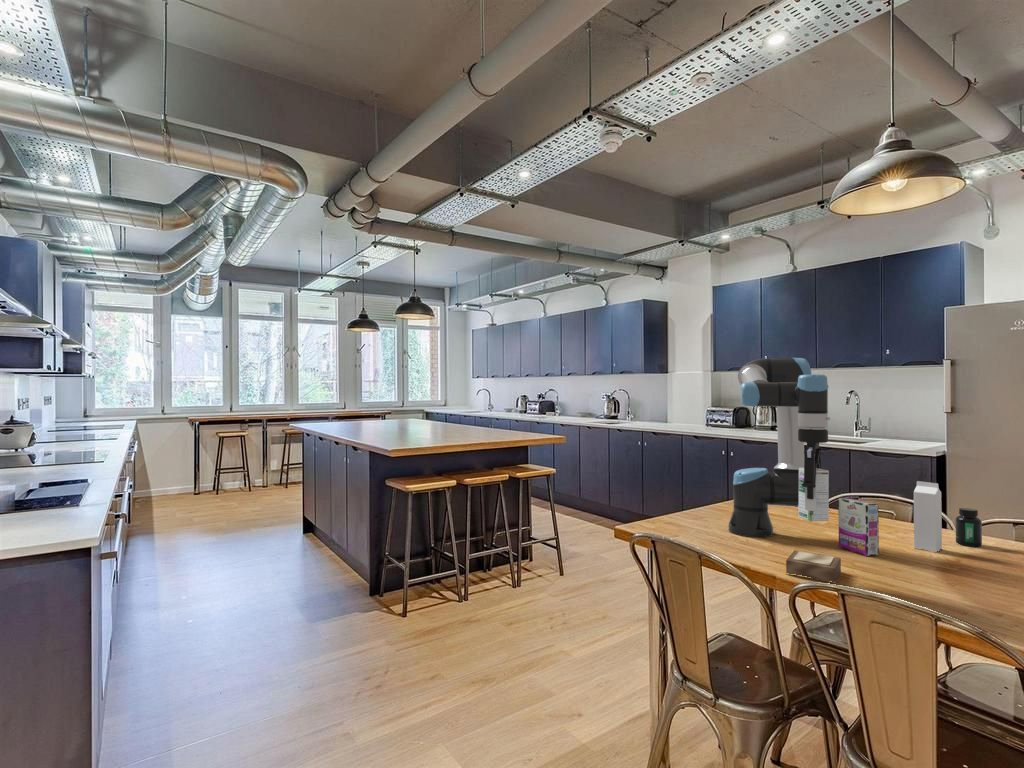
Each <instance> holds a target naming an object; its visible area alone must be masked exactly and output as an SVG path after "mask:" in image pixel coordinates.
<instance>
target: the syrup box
mask: <svg viewBox="0 0 1024 768" xmlns="http://www.w3.org/2000/svg"><path fill="white" fill-rule="evenodd" d="M829 474H830V472H829V470H828V469H823V468H822V469H818V468H816V484H815V485H816V505H817V511H809V510H805V487H802V484H803V483H804V467H802V468H799V507H798V518H802V519H803V520H807V521H809V522H829V517H830V515H829V513H830V512H829V511H830V510H829V509H830V508H829V506H830V505H829V503H830V502H829V501H830V500H829V499H830V497H829V496H830V495H829V492H830V491H829V487H830V485H829V484H830V483H829V481H830V479H829ZM809 482H810V481H809Z"/></svg>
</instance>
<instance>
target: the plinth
mask: <svg viewBox="0 0 1024 768" xmlns="http://www.w3.org/2000/svg"><path fill="white" fill-rule="evenodd" d="M841 559H842V558H841V557H838V556H831V555H827V554H826V555H825V554H820V553H813V552H808V551H807V552H806V551H801V550H793V552H791V554H790V555H789V556H788V558H787V559H786V560H785V562H786V564H785V571H786V572H785V573H789V574H796V575H802V576H807V577H811V578H813V579H812V580H814V579H818V580H817V581H819V580H821V581H820V582H825V581H832V582H835V581H836V580H837V581H838V579H839V577H840V574H841V572H842V571H841V570H842V567H841V565H842V564H841V563H842V560H841ZM838 576H839V577H838ZM837 578H838V579H837ZM837 581H836V582H837Z"/></svg>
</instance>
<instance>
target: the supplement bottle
mask: <svg viewBox="0 0 1024 768" xmlns="http://www.w3.org/2000/svg"><path fill="white" fill-rule="evenodd" d="M978 512H979V511H978V510H977V509H974V508H970V507H969V508H968V507H959V509H958V514H959V515H957V516H956V518H955V542H956V544H957V543H958V544H957V545H959V544H960V546H963V547H969V548H981V547H982V546H983V522H982V520H981V518H979V517H978V516H979V513H978Z"/></svg>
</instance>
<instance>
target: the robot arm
mask: <svg viewBox="0 0 1024 768" xmlns="http://www.w3.org/2000/svg"><path fill="white" fill-rule="evenodd" d="M737 379H738V382H739V384H740V402H741V405H742V406H745V407H753V408H755V407H776V412H777V413H776V414H777V415H776V416H777V418H776V419H777V420H776V422H777V425H776V426H777V458H778V459H777V461H778V462H777V463H776V465H775V466H774V467H773V472H769V471H768V468H765V467H750V468H749V467H748V468H741V469H738V470H736V471H735V472H734V473H733V480H732V481H733V482H732V485H733V510H732V513H731V516H730V519H729V522H728V531H729V532H731V533H732V534H735V535H739V536H745V537H751V538H753V537H754V538H768V537H772V536H773V535H774V526H773V523H772V521H771V518H770V515H769V511H768V510H769V506H782V507H783V506H784V507H795V508H797V507H798V508H799V468H802V467H804V483H803V484H802V487H805V510H809V511H817V505H816V485H815V484H816V468H818V469H823V468H822V453H823V449H822V446H820V444H823V443H824V444H826V443H828V442H829V430H828V429H826V428H828V425H829V422H828V421H831V417H829V416H828V413H829V412H828V410H829V409H828V407H829V406H828V404H829V403H828V399H829V395H828V394H829V393H828V391H829V384H828V377H827V375H825V374H813V373H812V369H811V367H810V363H809V361H808V360H807V359H806V358H803V357H778V358H777V357H776V358H775V357H774V358H773V357H772V358H771V357H770V358H768V357H765V358H757V359H754V360H751V361H749V362H747V363H745V364H744V365H742V366H741V368H739V370H738V373H737ZM805 443H806V447H805ZM809 481H810V482H809Z"/></svg>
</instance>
